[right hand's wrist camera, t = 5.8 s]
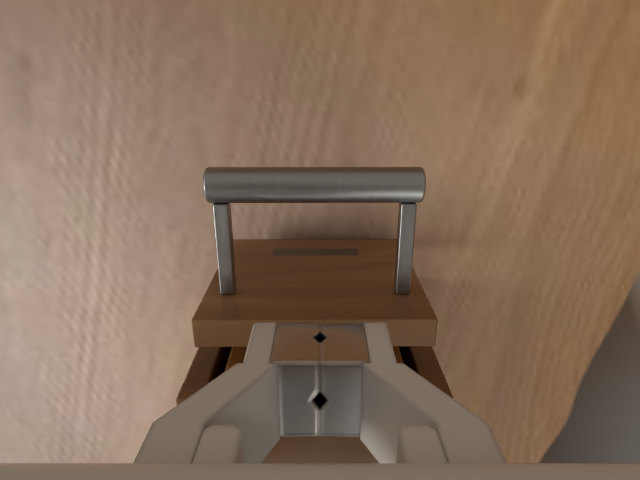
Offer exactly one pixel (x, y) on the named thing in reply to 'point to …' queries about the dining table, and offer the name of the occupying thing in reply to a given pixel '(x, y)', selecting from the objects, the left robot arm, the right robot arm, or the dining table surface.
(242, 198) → the drawer
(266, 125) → the dining table surface
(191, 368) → the cabinet
